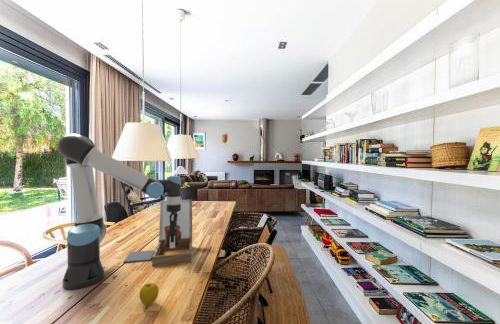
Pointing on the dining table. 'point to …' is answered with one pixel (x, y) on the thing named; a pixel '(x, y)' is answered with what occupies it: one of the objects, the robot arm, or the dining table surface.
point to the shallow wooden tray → (172, 258)
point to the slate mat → (139, 256)
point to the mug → (177, 233)
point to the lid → (182, 219)
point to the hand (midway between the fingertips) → (173, 244)
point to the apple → (149, 293)
